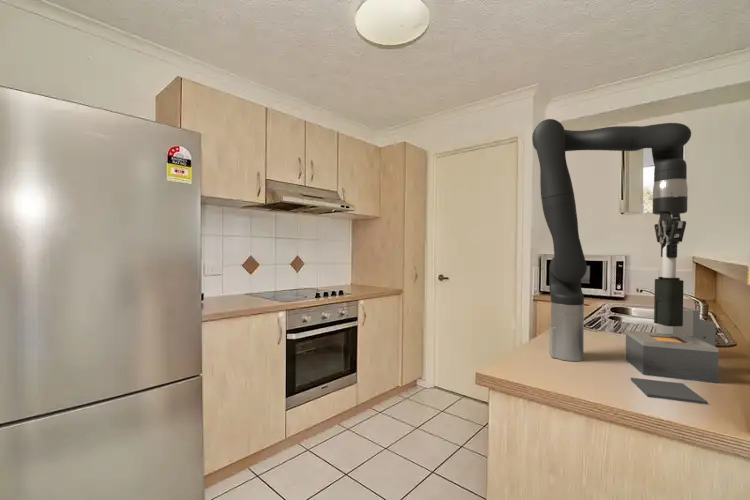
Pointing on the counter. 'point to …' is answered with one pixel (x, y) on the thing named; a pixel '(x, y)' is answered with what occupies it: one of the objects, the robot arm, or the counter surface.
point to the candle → (668, 295)
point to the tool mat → (667, 390)
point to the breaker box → (672, 356)
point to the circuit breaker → (693, 327)
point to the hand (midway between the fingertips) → (668, 257)
